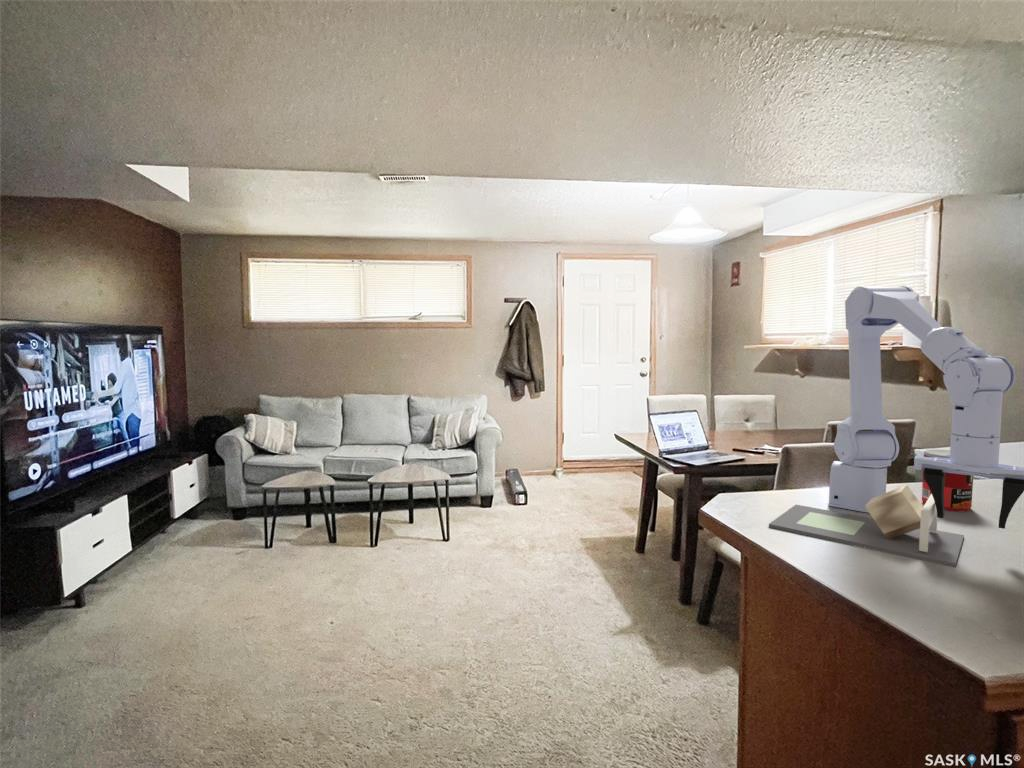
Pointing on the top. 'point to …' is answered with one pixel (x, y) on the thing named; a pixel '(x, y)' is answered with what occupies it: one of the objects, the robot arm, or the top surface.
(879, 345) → the robot arm
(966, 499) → the canned food
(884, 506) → the birch cube
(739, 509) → the top surface
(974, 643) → the top surface
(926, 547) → the gate
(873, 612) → the top surface
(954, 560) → the rubber mat
